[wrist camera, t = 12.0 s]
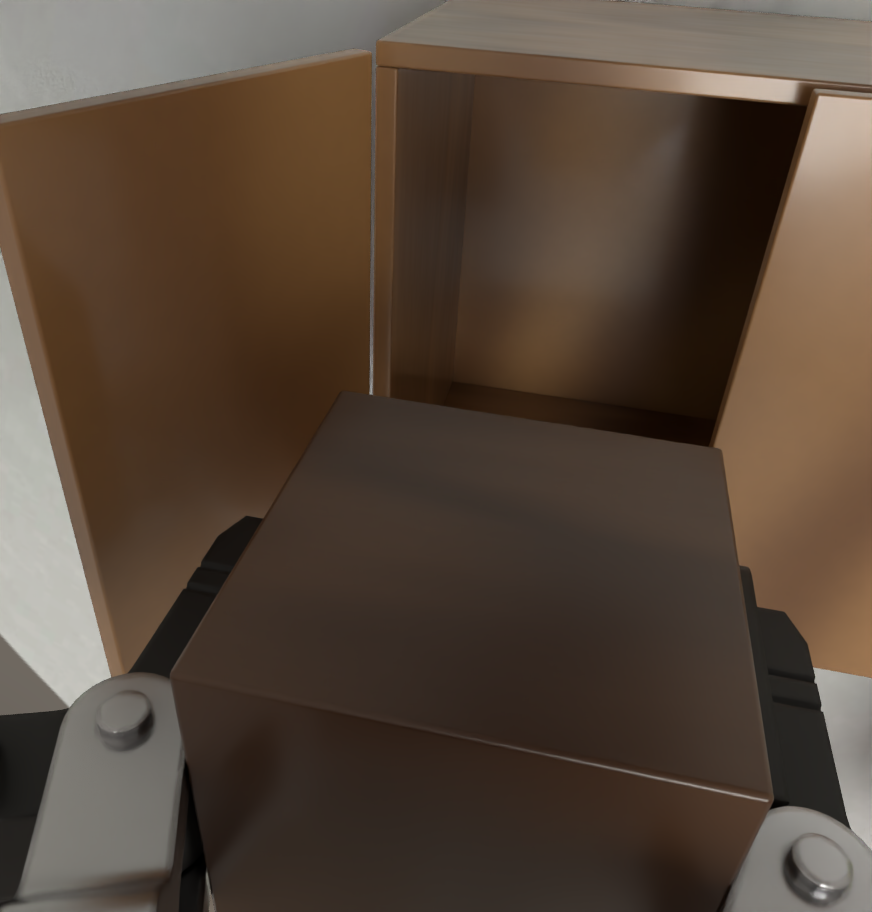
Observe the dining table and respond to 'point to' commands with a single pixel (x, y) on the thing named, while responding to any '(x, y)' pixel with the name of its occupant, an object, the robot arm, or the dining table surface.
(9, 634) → the dining table surface
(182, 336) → the flap
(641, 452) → the block
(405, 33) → the carton
